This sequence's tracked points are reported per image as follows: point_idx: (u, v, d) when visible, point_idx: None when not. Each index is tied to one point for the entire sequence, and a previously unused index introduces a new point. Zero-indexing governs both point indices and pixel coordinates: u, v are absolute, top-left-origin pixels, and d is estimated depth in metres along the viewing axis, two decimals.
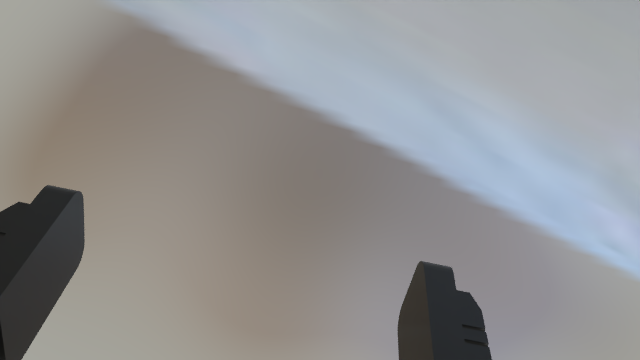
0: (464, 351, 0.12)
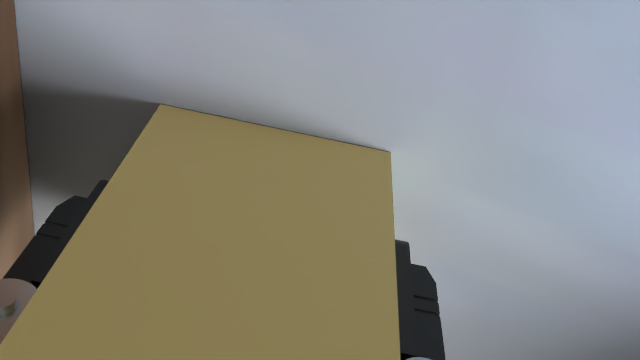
0: (413, 318, 0.12)
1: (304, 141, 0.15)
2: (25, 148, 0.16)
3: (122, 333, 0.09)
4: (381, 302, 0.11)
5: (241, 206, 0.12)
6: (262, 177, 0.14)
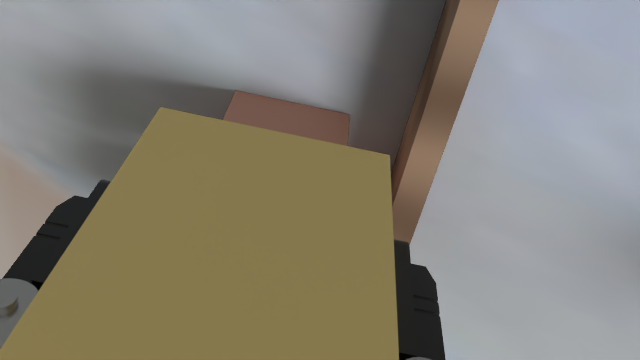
0: (413, 318, 0.12)
1: (303, 144, 0.15)
2: None
3: (122, 336, 0.09)
4: (380, 305, 0.11)
5: (241, 209, 0.13)
6: (261, 180, 0.14)
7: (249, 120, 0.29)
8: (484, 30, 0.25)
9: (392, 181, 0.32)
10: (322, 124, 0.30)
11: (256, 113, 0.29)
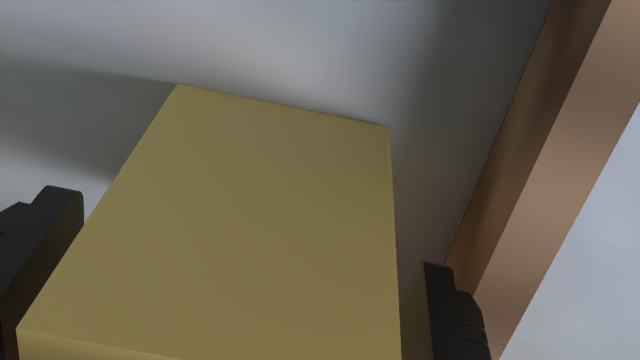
0: (464, 351, 0.12)
1: (310, 116, 0.16)
2: None
3: (153, 271, 0.11)
4: (381, 251, 0.12)
5: (254, 170, 0.14)
6: (272, 146, 0.15)
7: None
8: (571, 216, 0.14)
9: None
10: None
11: None
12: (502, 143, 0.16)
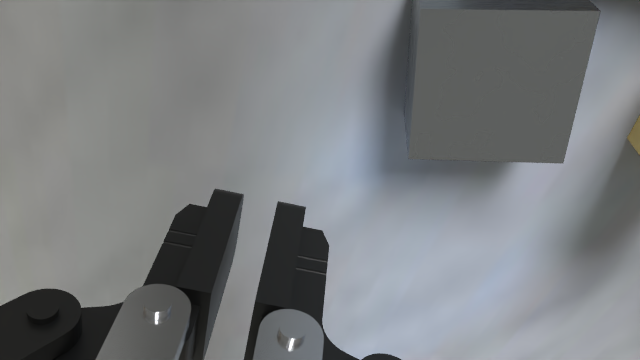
0: (293, 275, 0.12)
1: None
2: None
3: None
4: None
5: None
6: None
7: None
8: None
9: None
10: None
11: None
12: None
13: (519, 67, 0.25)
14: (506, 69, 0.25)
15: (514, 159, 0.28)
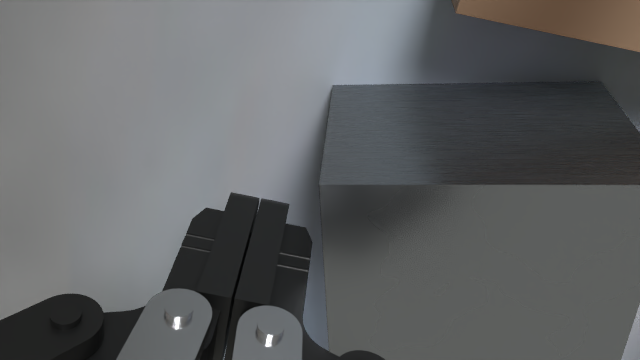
0: (274, 271, 0.12)
1: None
2: None
3: None
4: None
5: None
6: None
7: None
8: None
9: None
10: None
11: None
12: None
13: (519, 276, 0.13)
14: (494, 279, 0.13)
15: None
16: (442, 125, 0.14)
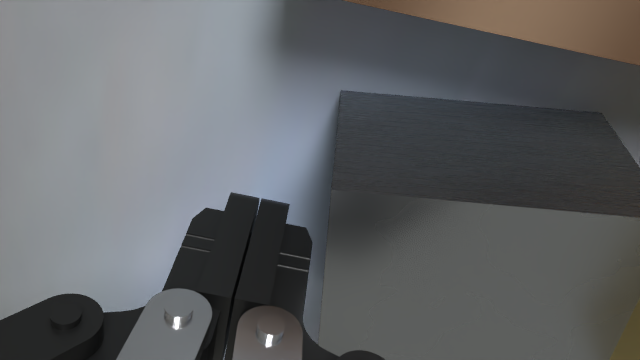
0: (273, 271, 0.12)
1: None
2: None
3: None
4: None
5: None
6: None
7: None
8: None
9: None
10: None
11: None
12: None
13: (514, 295, 0.14)
14: (489, 296, 0.14)
15: None
16: (451, 140, 0.14)
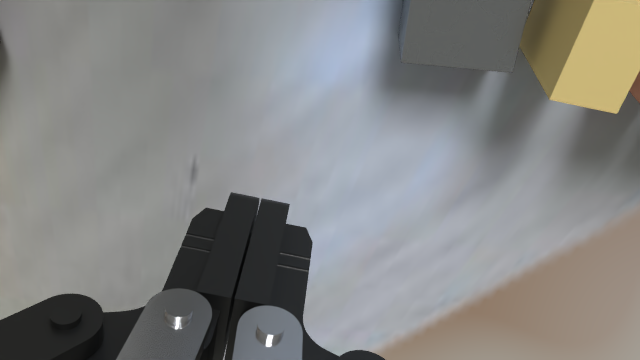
0: (274, 272, 0.12)
1: None
2: None
3: (552, 62, 0.35)
4: None
5: (545, 21, 0.37)
6: (542, 11, 0.38)
7: None
8: None
9: None
10: None
11: None
12: None
13: None
14: None
15: (477, 67, 0.38)
16: None
